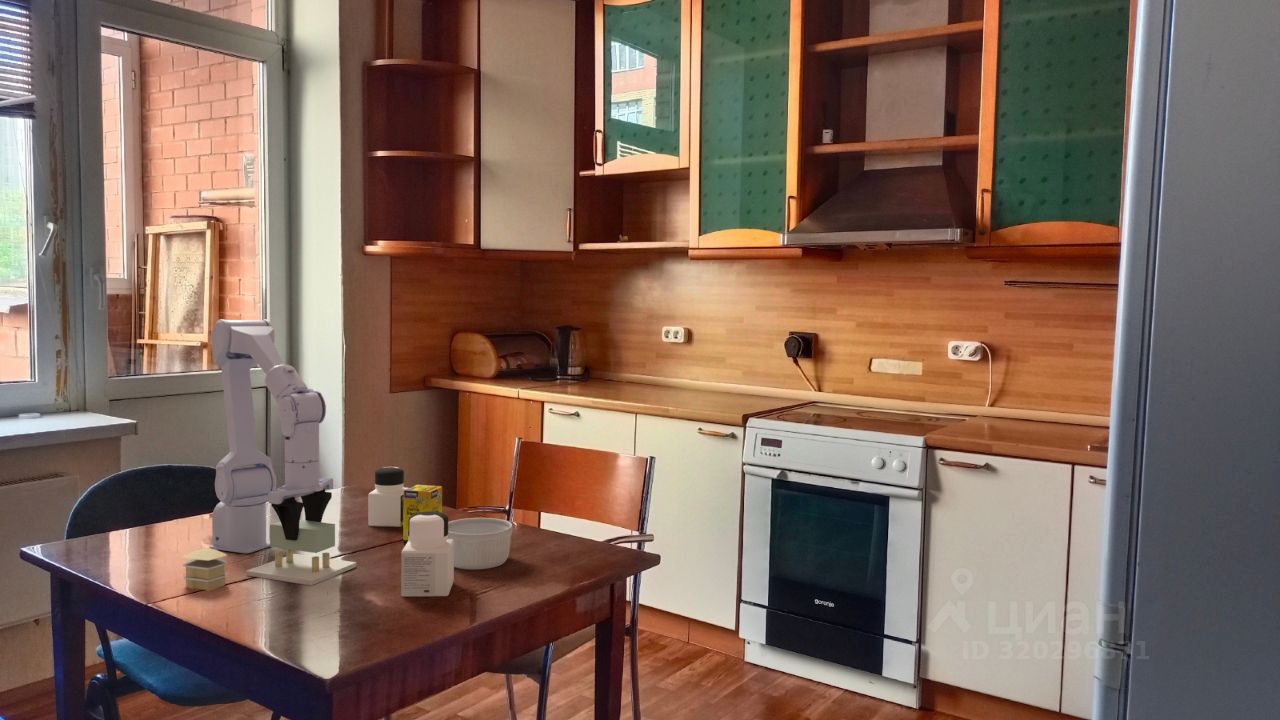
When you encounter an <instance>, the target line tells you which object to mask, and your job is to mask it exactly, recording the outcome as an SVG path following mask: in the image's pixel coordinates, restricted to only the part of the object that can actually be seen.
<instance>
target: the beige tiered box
mask: <svg viewBox="0 0 1280 720" xmlns="http://www.w3.org/2000/svg"><path fill="white" fill-rule="evenodd" d="M226 556H228V554H227V553H224V552H222V551H221V550H217V549H210V548H202V549H196V550H194V551H191V552H189V553H186V554H183V556H182V557H183V558H185V559H189V560H188V561H185V562H183V564H182V566H183V567H184V568H185V573H184V575H183V576H182V577H183V579H185V588H187V589H199V590H204V591H212V590H215V589H218V588H221V587H224V586H226V577H228V576H229V575H228V573H226V570H225V569H226V565H228V563H229V562H227V561H226V560H224V559H222V557H226Z"/></svg>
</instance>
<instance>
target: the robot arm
mask: <svg viewBox="0 0 1280 720" xmlns="http://www.w3.org/2000/svg"><path fill="white" fill-rule="evenodd" d="M210 338H211V339H210V341H211V349H212V350H211V352H212V357H213V363H214V364H215V365H217V366H219V367H220V368H221V369H220V370H221V377H222V387H223V396H224V397H223V398H224V407H225V417H226V426H227V437H228V446H229V447H228V449H229V452H228V453H227V454H226V455H225V456H224V457H223V458H222V459H220V461H219V462H218V463H217V464H216V466H215V480H214V490H215V493H216V497H217V498H218V500H219V501H220V502H218V503H217V504H216V506H215V507H214V509H213V512H212V514H211V515H212V518H211V519H212V520H211V522H212V526H211V527H212V531H211V532H212V534H211V535H212V540H211V541H212V544H211V545H209V546H208V549H215V550H218V551H224V552H225V551H227V552H232V553H239V554H246V555H247V554H251V553H254V552H257V551H261V550H263V549H266V548H269V547H270V540H268V539H267V502H268V504H271V507H272V509H273V510H274V512H275V513H276V515H277V517H278V519H279V521H280V522H281V525H282V528H283V531H284V535H285V538H286V540H292V541H296V540H297V539H298V534H299V522H300V520H301V516H302V511H304V517H305V518H304V520H307V521H315V522H322V521H323V517H324V514H325V510H326V509H327V506H328V504H329V502H330V501H331V499H333V497H332V496H333V495H332V492H331V491H326V490H333V489H334V477H333V478H332V477H321V478H320V424H321V423H322V422H323V421H325V417H326V413H327V405H326V401H325V399H324V396H323V395H322V393H321V392H320V391H319V390H314V389H313V388H309V387H308V386H307V385H306V383H305V382H304V380H303V379H302V378H301V376H300V374H299V373H298V371H297V370H296V368H295V367H294V366H292V365H290V364H285V363H284V361H283V359H282V357H281V356H280V353H279V351H278V349H277V348H276V345H275V329H274V327H273V324H272V323H271V322H270V321H269V320H268V319H267V318H266V319H265V318H263V319H223V318H222V319H221V318H220V319H218V320H217V321H216V323H215V324H214V325H213V327H212V331H211V334H210ZM256 364H257V365H258V366H259V368H261V370H262V372H264V373H265V374H266V376H265V377H264V384H265V386H266V388H267V389H268V391H269V392H270V394H271V395H272V397H273V399H274V400H275V402H276V403H277V405H278V408H277V415H278V419H279V422H280V425H281V427H280V428H281V429H280V430H281V435H283V436H284V485H282V486H280V487H278V488H277V476H276V473H275V471H274V468H273V463H272V458H270V457H269V456H267V454H265V453H264V452H262V451H260V450H259V448H258V439H257V429H256V428H257V427H256V419H255V409H254V400H253V389H252V382H251V369H252V368H253V366H254V365H256ZM243 466H249V467H243ZM236 467H243V468H236ZM296 498H297V499H298V498H301V499H300V500H301V502H300V501H297V499H296Z"/></svg>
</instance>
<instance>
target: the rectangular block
mask: <svg viewBox="0 0 1280 720" xmlns="http://www.w3.org/2000/svg"><path fill="white" fill-rule="evenodd" d="M269 541H270V546H269V547H270V548H278V549H284V550H286V549H291V550H293V551H300V552H306V553H314V554H317V553H321V552H323V551H326V550H328V549H331V548H334V547H336V523H330V522H324V521H323V522H322V521H321V522H315V521H307V520H305V519H300V522H299V534H298V539H297V540H296V541H292V540H286V538H285V535H284V531H283V528H282V525H281V522H280V520H279V521H276V522H273V523H270V524H269Z"/></svg>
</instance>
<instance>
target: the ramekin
mask: <svg viewBox="0 0 1280 720" xmlns="http://www.w3.org/2000/svg"><path fill="white" fill-rule="evenodd" d="M513 530H514V527H513V523H512V522H510V521H508V520H505V519H502V518H501V519H500V518H493V517H470V518H461V519H459V518H458V519H454V520H451V521H448V539H453V540H454V568H456V569H461V570H486V569H492V568H496V567H499V566H501V565H503V564H504V563H505V562H506V561H507V559H508V558H509V555H510V550H511V548H510V547H511V541H512V533H513Z"/></svg>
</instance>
